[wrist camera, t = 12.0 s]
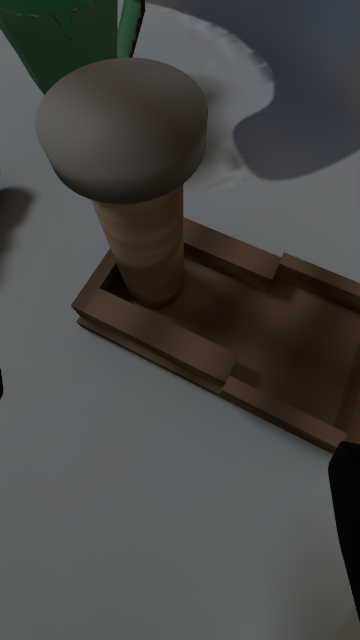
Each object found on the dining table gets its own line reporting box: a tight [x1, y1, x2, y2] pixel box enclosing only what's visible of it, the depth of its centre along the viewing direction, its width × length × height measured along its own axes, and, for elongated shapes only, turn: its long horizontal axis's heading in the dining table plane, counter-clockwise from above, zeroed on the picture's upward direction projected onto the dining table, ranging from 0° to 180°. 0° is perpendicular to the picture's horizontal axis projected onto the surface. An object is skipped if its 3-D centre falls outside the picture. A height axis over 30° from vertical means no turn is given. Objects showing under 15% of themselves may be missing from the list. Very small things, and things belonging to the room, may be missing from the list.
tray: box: [71, 217, 360, 454], centre depth 22 cm, size 20×11×3 cm, turn 63°
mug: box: [0, 0, 145, 95], centre depth 27 cm, size 15×10×10 cm
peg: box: [35, 58, 208, 309], centre depth 17 cm, size 6×6×13 cm
